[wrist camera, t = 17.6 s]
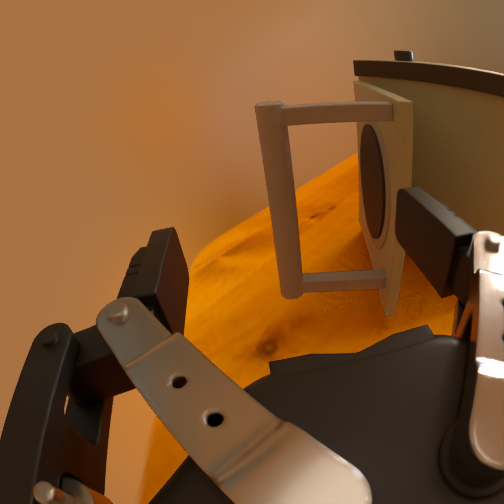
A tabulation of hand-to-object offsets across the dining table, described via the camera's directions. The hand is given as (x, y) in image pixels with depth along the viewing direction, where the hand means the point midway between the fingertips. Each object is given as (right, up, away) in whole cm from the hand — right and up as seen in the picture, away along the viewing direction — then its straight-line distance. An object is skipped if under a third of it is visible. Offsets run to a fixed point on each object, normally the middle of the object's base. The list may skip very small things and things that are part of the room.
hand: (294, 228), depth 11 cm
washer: (+21, +1, +20) cm, 29 cm away
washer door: (+6, -2, +17) cm, 18 cm away
